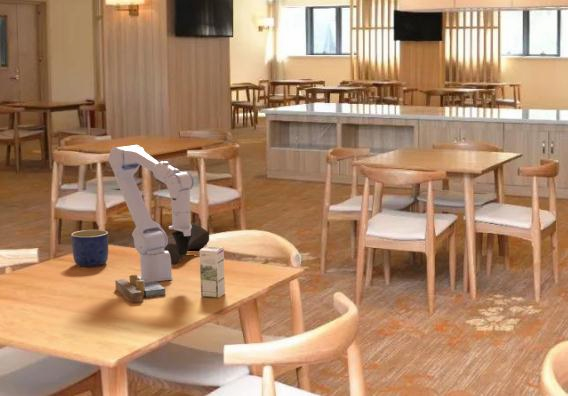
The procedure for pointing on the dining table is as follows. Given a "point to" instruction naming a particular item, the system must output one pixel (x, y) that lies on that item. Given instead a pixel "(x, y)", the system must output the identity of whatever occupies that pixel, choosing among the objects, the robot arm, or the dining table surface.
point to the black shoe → (196, 242)
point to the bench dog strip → (131, 289)
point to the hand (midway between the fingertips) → (182, 254)
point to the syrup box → (212, 272)
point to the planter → (90, 247)
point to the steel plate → (153, 289)
